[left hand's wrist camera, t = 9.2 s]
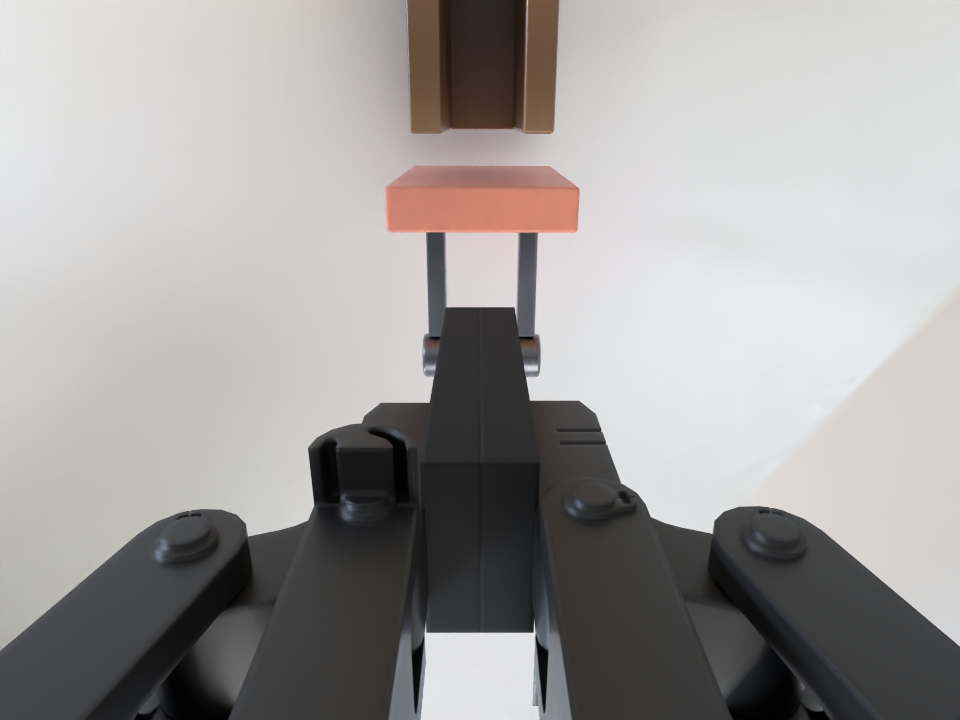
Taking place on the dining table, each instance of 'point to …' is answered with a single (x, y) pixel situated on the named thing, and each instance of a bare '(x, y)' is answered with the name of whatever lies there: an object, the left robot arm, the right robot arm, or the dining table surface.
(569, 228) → the drawer
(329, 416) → the dining table surface
